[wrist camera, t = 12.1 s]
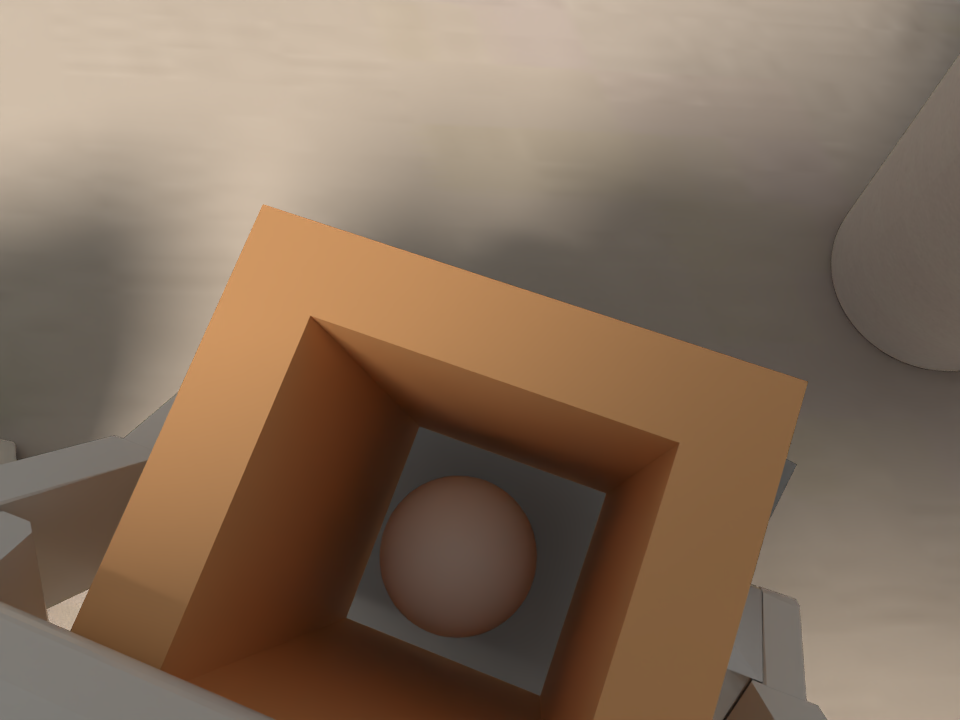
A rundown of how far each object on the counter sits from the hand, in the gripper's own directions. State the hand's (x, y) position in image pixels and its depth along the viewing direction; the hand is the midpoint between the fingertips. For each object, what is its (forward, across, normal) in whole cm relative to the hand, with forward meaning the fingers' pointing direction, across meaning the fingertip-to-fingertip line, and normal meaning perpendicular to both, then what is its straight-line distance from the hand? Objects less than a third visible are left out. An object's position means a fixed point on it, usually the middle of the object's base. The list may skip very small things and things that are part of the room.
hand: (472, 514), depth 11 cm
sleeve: (+2, 0, +3) cm, 4 cm away
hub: (+8, 0, +9) cm, 13 cm away
